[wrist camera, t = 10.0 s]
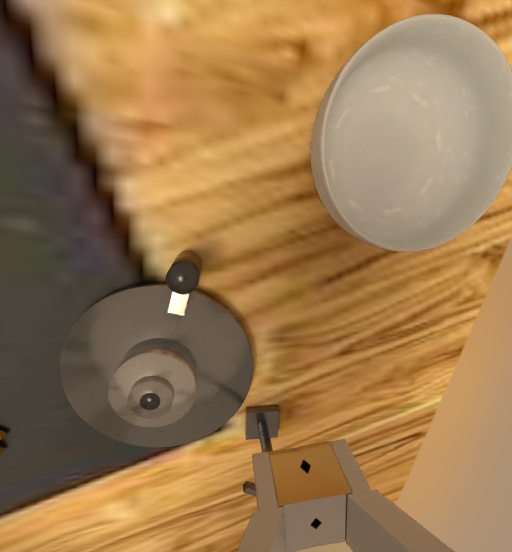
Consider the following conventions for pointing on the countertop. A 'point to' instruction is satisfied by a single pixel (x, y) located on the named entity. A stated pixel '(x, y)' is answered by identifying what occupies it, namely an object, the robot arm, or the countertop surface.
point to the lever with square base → (261, 431)
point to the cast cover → (154, 383)
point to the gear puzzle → (0, 435)
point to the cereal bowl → (415, 134)
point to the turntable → (158, 324)
